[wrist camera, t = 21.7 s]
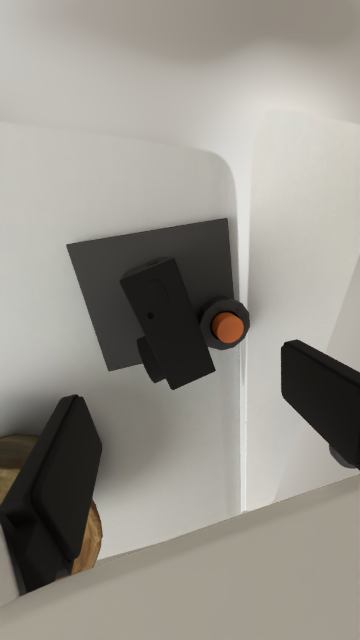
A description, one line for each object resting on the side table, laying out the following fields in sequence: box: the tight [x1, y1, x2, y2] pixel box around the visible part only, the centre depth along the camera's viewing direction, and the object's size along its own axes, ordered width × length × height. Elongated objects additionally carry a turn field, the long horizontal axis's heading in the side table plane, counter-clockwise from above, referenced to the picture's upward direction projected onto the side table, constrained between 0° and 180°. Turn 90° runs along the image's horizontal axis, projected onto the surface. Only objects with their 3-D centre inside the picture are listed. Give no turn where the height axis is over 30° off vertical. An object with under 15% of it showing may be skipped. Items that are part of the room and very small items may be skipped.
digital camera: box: [119, 257, 216, 390], centre depth 19 cm, size 10×5×7 cm, turn 21°
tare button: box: [212, 312, 244, 343], centre depth 22 cm, size 3×3×2 cm
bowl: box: [0, 435, 103, 581], centre depth 22 cm, size 22×23×10 cm
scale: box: [66, 218, 250, 371], centre depth 22 cm, size 17×14×3 cm
